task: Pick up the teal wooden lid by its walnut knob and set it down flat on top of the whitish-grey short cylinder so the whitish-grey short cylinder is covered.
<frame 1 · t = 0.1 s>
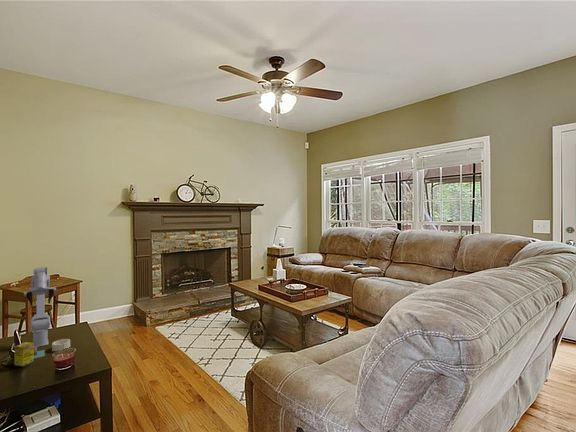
hand: (40, 303, 178), 32 cm above the table, tool tilted 50°, fingers open, 7 cm apart
supplement box: (24, 364, 174), on the table
lid: (33, 356, 185), on the table
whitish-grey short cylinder: (61, 348, 194), on the table
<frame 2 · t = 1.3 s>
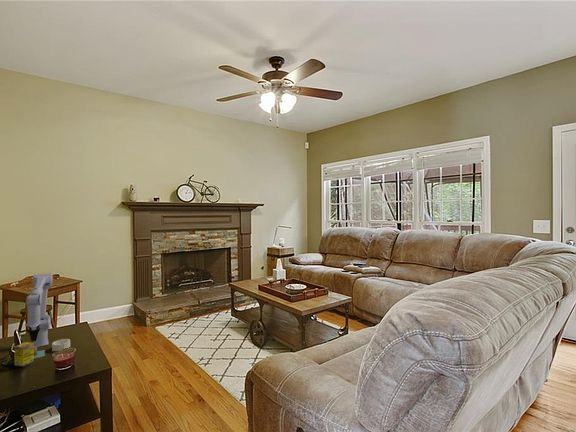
hand: (33, 339, 185), 9 cm above the table, tool pointing down, fingers open, 7 cm apart
nothing on the table moved.
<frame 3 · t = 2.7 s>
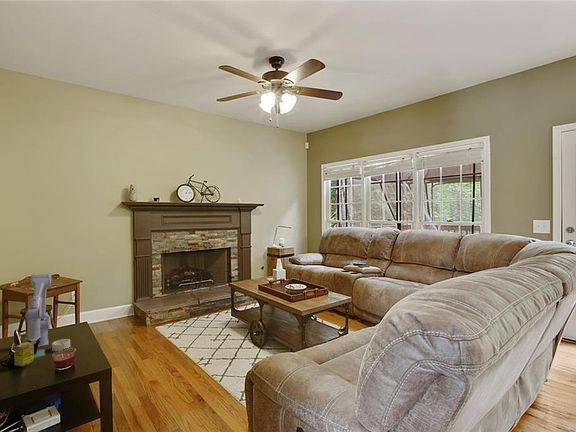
hand: (33, 352, 185), 2 cm above the table, tool pointing down, fingers closed on lid, 3 cm apart
lid: (33, 355, 185), on the table, touching gripper
everything else where it was.
when the fingers open (7 cm above the table, at t = 5.9 s): lid drops 1 cm, resting on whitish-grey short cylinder.
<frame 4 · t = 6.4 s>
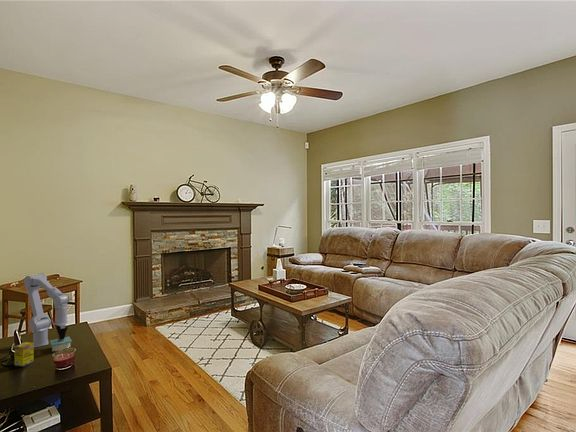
hand: (61, 337, 194), 7 cm above the table, tool pointing down, fingers open, 7 cm apart
lid: (60, 342, 194), point 4 cm above the table, touching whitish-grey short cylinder
everything else where it was.
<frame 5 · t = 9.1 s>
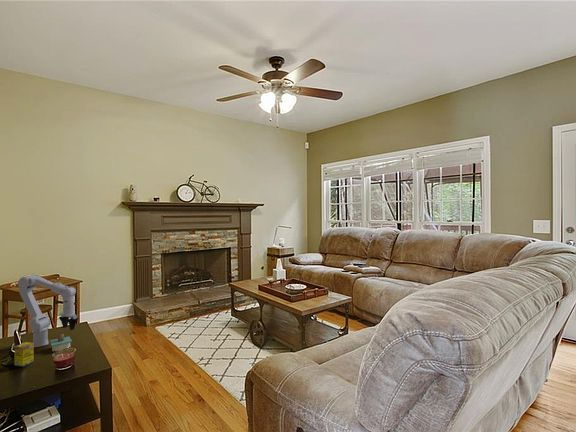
hand: (68, 328, 201), 10 cm above the table, tool pointing down, fingers open, 7 cm apart
nothing on the table moved.
at the end: lid 0.2 cm off-centre on the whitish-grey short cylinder, point 4.0 cm above the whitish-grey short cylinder's base; lid tilted 0°; the gripper is holding nothing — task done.
